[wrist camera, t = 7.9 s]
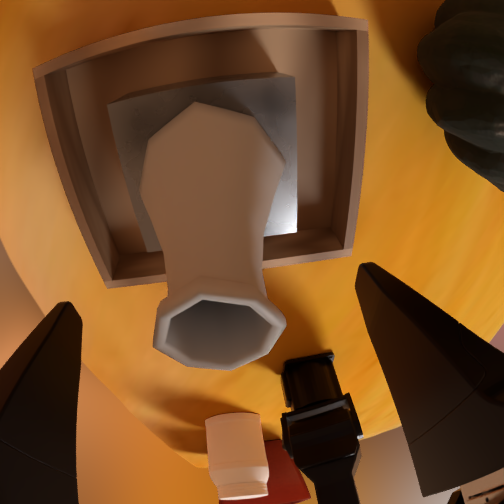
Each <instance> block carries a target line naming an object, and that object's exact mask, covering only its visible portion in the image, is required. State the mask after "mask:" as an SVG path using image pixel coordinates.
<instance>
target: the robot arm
mask: <svg viewBox="0 0 504 504" xmlns="http://www.w3.org/2000/svg"><path fill="white" fill-rule="evenodd" d="M355 290H356V293H357V297H358V300H359V303H360V307H361V310H362V314H363V317H364V321H365V324H366V328H367V331H368V334H369V336H370V339H371V342H372V344H373V347H374V349H375V352H376V354H377V357H378V359H379V362H380V365H381V367H382V370H383V373H384V375H385V378H386V381H387V383H388V386H389V389H390V392H391V395H392V397H393V400H394V403H395V406H396V409H397V412H398V415H399V418H400V421H401V424H402V427H403V430H404V433H405V436H406V440H407V442H408V444H409V445H408V446H409V450H410V453H411V456H412V460H413V463H414V467H415V470H416V474H417V477H418V481H419V485H420V489H421V493H422V496H423V497H426V496H429V495H433V494H437V493H440V492H443V491H446V490H449V489H452V488H455V487H458V486H460V489H458V490H456V491H455V492H453V493H452V495H451V497H450V499H449V501H448V503H447V504H504V353H503V352H501V351H500V350H498V349H497V348H495V347H493V346H492V345H491V344H489V343H488V342H486V341H485V340H483V339H482V338H480V337H479V336H477V335H476V334H475V333H473V332H472V331H470V330H469V329H468V328H466V327H465V326H464V325H462V324H461V323H459V322H458V321H457V320H456V319H454V318H453V317H451V316H450V315H449V314H447V313H446V312H445V311H443V310H442V309H440V308H439V307H438V306H436V305H435V304H434V303H432V302H431V301H429V300H428V299H426V298H425V297H424V296H422V295H421V294H419V293H418V292H417V291H415V290H414V289H412V288H411V287H409V286H408V285H406V284H405V283H403V282H402V281H401V280H399V279H398V278H396V277H395V276H393V275H392V274H390V273H389V272H387V271H386V270H384V269H383V268H381V267H380V266H378V265H377V264H375V263H373V262H367V263H362V264H360V265H359V268H358V272H357V277H356V282H355ZM82 327H83V324H82V319H81V317H80V315H79V314H78V312H77V311H76V309H75V308H74V306H73V304H72V303H71V302H69V301H66V302H59V303H58V304H57V305H56V306H55V307H54V308H53V309H52V310H51V311H50V312H49V313H48V314H47V316H46V317H45V318H44V319H43V320H42V321H41V322H40V323H39V324H38V325H37V327H36V328H35V329H34V330H33V331H32V332H31V333H30V335H29V336H28V337H27V338H26V339H25V340H24V341H23V343H22V344H21V345H20V346H19V347H18V349H17V350H16V351H15V352H14V353H13V355H12V356H11V357H10V358H9V359H8V361H7V362H6V363H5V365H4V366H3V367H2V368H1V369H0V504H79V503H78V489H77V478H76V477H77V473H76V422H77V404H78V403H77V402H78V391H79V380H80V370H81V347H82ZM333 360H334V353H327V354H322V355H317V356H312V357H307V358H302V359H296V360H291V361H286V362H285V363H284V372H282V373H281V385H282V390H283V395H284V400H285V404H286V407H287V408H289V407H291V412H288V413H286V412H285V413H282V418H280V420H281V425H282V448H283V449H284V450H286V451H287V453H288V454H289V456H290V458H291V459H294V463H295V465H296V466H297V467H298V468H299V469H300V470H301V471H302V472H303V473H304V474H305V475H306V476H307V477H308V478H309V479H310V480H311V481H312V482H313V483H314V485H315V490H316V495H317V500H318V504H360V500H359V497H358V493H357V489H356V485H355V481H354V475H355V473H356V470H357V467H358V465H359V461H360V459H361V450H360V444H359V441H358V440H359V439H361V438H363V433H362V429H361V426H360V422H359V419H358V416H357V413H356V410H355V408H354V405H353V402H352V399H351V396H350V393H346V394H345V395H343V394H342V391H341V388H340V385H339V382H338V378H337V375H336V372H335V369H334V366H333Z"/></svg>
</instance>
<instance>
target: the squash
mask: <svg viewBox="0 0 504 504" xmlns="http://www.w3.org/2000/svg"><path fill="white" fill-rule="evenodd" d="M434 25H435V30H434V31H432V32H431V33H429V34H428V35H426V36H425V37H424V38H423V39H422V40H421V41H420V43H419V46H418V49H417V57H418V61H419V63H420V65H421V67H422V69H423V71H424V73H425V74H426V75H427V77H428V78H429V79H430V80H431V81H432V82H433V83H434V85H433V86H432V87H431V88H430V90H429V92H428V94H427V97H426V109H427V113H428V114H429V116H430V117H431V118H432V119H433V121H434V122H435V123H436V124H437V125H438V126H439V127H441V128H442V129H444V135H445V139H446V142H447V144H448V146H449V148H450V150H451V151H452V153H453V154H454V155H455V156H456V157H457V158H458V159H459V160H460V161H461V162H462V163H463V164H465V165H466V166H468V167H469V168H471V169H472V170H473V171H475V172H476V173H477V174H479V175H480V176H482V177H484V178H485V179H487V180H488V181H489V182H491V183H492V184H493V185H495V186H496V187H497V188H498V189H500V190H501V191H503V192H504V0H445V1H444V3H443V4H442V5H441V6H440V8H439V9H438V11H437V13H436V17H435V23H434Z"/></svg>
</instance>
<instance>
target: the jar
mask: <svg viewBox="0 0 504 504" xmlns="http://www.w3.org/2000/svg"><path fill="white" fill-rule="evenodd" d="M205 427H206V436H207V449H208V461H209V474H210V477H211V479H212V481H213V482H214V484H215V485H216V486H217V489H218V495H219V496H218V498H219V499H220V500H238V499H249V498H257V497H262V496H267V495H268V491H267V485H266V484H267V481H268V478H269V468H268V462H267V459H266V453H265V447H264V441H263V434H262V428H261V420H260V415H259V414H255V413H245V412H238V413H226V414H221V415H216V416H213V417H210V418H208V419H206V420H205Z"/></svg>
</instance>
